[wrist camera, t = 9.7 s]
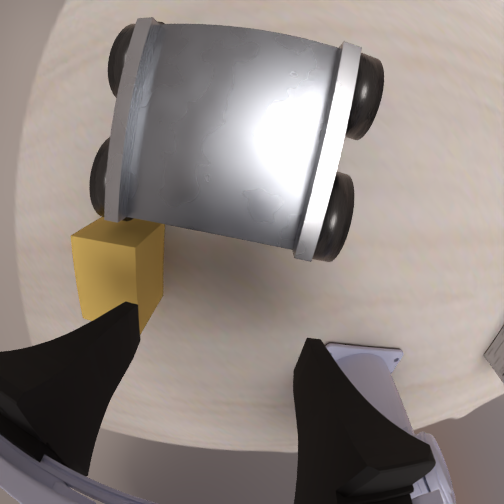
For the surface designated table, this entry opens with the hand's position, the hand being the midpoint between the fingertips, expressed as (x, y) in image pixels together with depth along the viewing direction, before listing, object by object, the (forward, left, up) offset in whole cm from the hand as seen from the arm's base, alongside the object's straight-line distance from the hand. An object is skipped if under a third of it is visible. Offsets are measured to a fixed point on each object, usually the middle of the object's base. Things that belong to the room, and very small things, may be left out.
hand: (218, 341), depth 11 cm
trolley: (+8, +2, -9) cm, 12 cm away
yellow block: (-1, +8, -9) cm, 12 cm away
